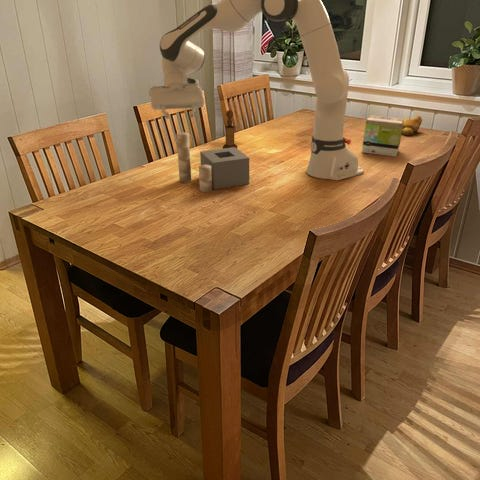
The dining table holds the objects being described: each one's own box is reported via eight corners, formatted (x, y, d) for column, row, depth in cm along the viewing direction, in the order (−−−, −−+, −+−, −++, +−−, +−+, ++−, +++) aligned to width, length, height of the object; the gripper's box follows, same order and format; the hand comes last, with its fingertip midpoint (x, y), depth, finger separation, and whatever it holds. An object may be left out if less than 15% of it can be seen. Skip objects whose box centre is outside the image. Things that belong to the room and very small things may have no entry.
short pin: (209, 187, 171) (208, 164, 167) (213, 191, 167) (213, 167, 163) (198, 189, 169) (197, 165, 165) (202, 193, 166) (201, 169, 162)
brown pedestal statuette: (235, 154, 205) (235, 112, 196) (221, 153, 206) (220, 111, 198) (238, 149, 211) (238, 109, 202) (224, 148, 212) (223, 108, 203)
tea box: (361, 153, 206) (365, 119, 199) (364, 146, 214) (369, 114, 207) (396, 157, 201) (402, 123, 194) (399, 150, 209) (404, 117, 202)
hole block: (234, 171, 185) (234, 147, 181) (249, 183, 174) (249, 157, 169) (201, 176, 181) (200, 151, 176) (213, 189, 169) (213, 162, 165)
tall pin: (189, 178, 179) (186, 131, 171) (192, 182, 176) (190, 134, 167) (178, 179, 178) (175, 133, 169) (181, 183, 174) (178, 136, 166)
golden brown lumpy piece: (413, 137, 227) (416, 121, 223) (393, 134, 232) (396, 118, 228) (421, 131, 236) (424, 115, 233) (402, 128, 241) (404, 113, 238)
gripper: (148, 81, 176) (151, 113, 173) (202, 79, 180) (206, 111, 176) (149, 91, 182) (152, 123, 179) (201, 89, 186) (205, 120, 182)
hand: (179, 117), depth 177 cm, fingers open, 8 cm apart
